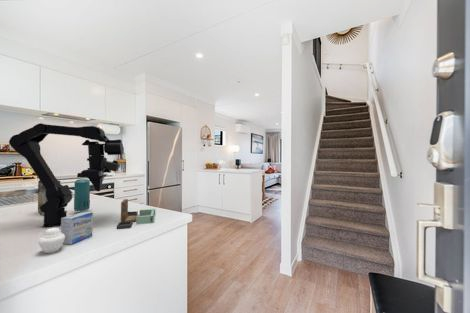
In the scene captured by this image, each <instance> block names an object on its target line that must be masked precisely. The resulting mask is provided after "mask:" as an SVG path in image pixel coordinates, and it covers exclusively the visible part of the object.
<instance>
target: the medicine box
mask: <svg viewBox="0 0 470 313" xmlns="http://www.w3.org/2000/svg"><path fill="white" fill-rule="evenodd" d="M93 215H94V213H93V211H92V212H91V211H80V212H78V213H73V214H70V215H68V216H67V215H66V217H63V218H61V225H60V232H61V233H62V234H64V235H65V239H64V242H63V243H62V245H70V246H71V245H75V244H77V243H79V242H81V241H84V240H86V239H88V238H90V237H92V236H93V222H94V221H93V218H94V217H93Z"/></svg>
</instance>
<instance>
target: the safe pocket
mask: <svg viewBox="0 0 470 313" xmlns="http://www.w3.org/2000/svg"><path fill="white" fill-rule="evenodd" d="M139 215H150V216H137V217H136V225H140V224H143V225H144V224H153V223H155V216H156V208H149V209H139Z"/></svg>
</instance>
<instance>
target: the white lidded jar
mask: <svg viewBox="0 0 470 313" xmlns="http://www.w3.org/2000/svg"><path fill="white" fill-rule="evenodd" d="M64 239H65V235H64V234H62V233H61V228H60V229H59V227H50V228H48V229H46V230H45V231H44V234H42V236H41V237H40V238H39V239H38V240H37V241H38V242H37V243H38V245H39V247H40V248H41V250H42V251H43V253H45V254H53V253H56V252H57V251H59V250H60V248H61V247H62V245H63V244H62V243H63V242H64Z"/></svg>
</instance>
